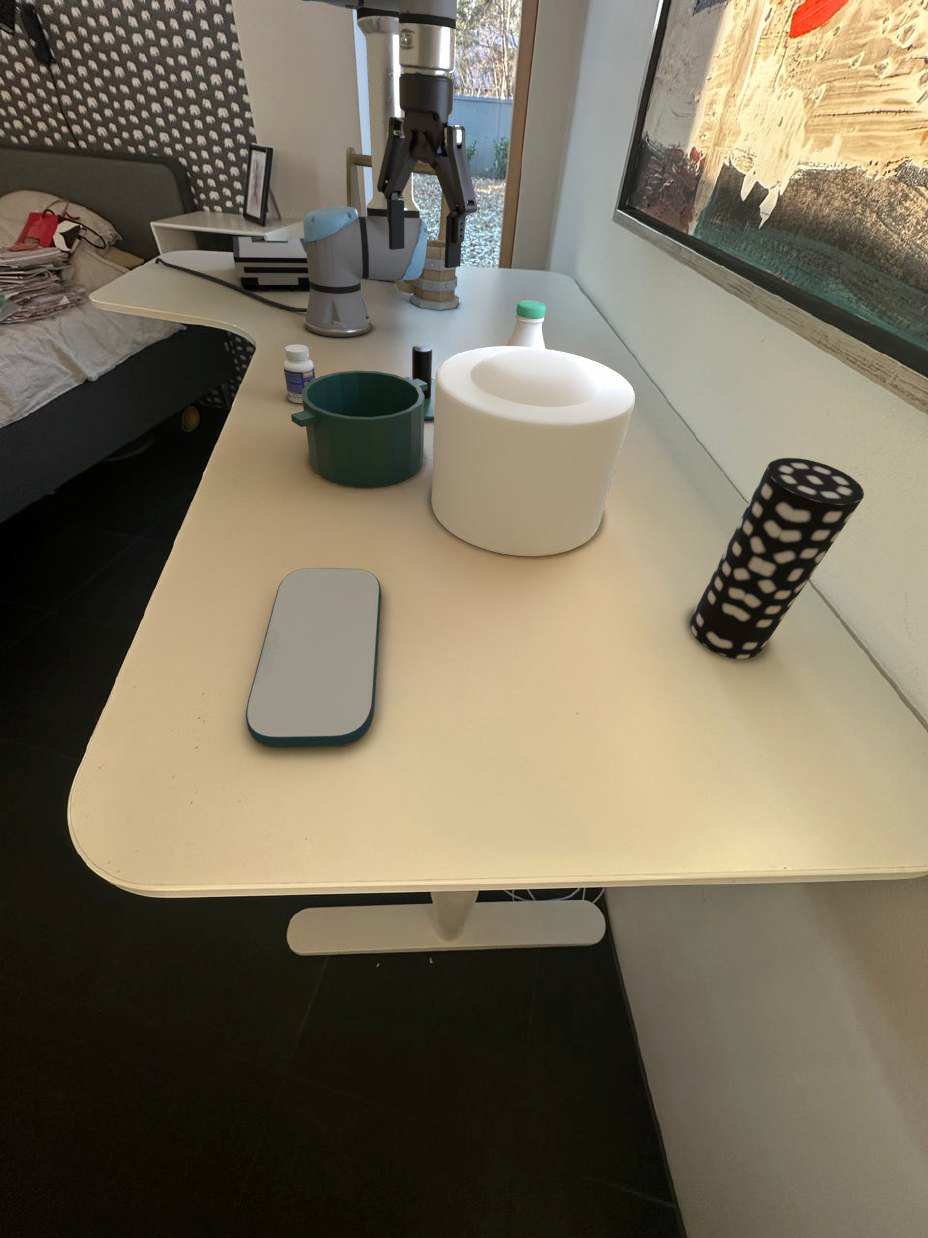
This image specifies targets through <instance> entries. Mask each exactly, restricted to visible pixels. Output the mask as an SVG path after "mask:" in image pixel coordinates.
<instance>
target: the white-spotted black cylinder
mask: <svg viewBox="0 0 928 1238" xmlns="http://www.w3.org/2000/svg"><path fill="white" fill-rule="evenodd" d="M864 496H865V491H864V489H863V487H862V486H861V484H860V483H859V482H858V481H857V480H856V479H855V478H853V477H852V476H850V475H848V474H847V473H845V472H843V471H842V470H840V469H838V468H835V467H833V466H830V465H828V464H825V463H822V462H819V461H815V460H811V459H805V458H798V457H781V458H777V459H774V460H772V461H770V462H769V463H768V465H767V466H766V468H765V470H764V472H763V475H762V476H761V478H760V480H759V482H758V484H757V486H756V488H755V490H754V492H753V494H752V496H751V498H750V499H749V502H748V504H747V505H746V508H745V509H744V512H743V515H742V516H741V518H740V520H739V522H738V524H737V526H736V528H735V530H734V532H733V534H732V536H731V537H730V540H729V541H728V544H727V545H726V548H725V549H724V552H723V554H722V556H721V557H720V560H719V562H718V563H717V566H716V568H715V569H714V571H713V574H712V576H711V577H710V579H709V582H708V583H707V586H706V587H705V589H704V592H703V593H702V595H701V598H700V600H699V601H698V603H697V605H696V608H695V610H694V611H693V613H692V616H691V617H690V621H689V626H690V630H691V632H692V634H693V635H694V637H695V638H696V639H697V640H698V641H699V642H700V643H701V644H702V645H703V646H704V647H705V648H707V649H709V650H711V651H712V652H714V653H716V654H718V655H720V656H724V657H726V658H732V659H738V660H740V659H741V660H743V659H750V658H754V657H756V656H758V655H760V653H761V652H762V651H763V649H764V648H765V646H766V645H767V643H768V642H769V640H770V639H771V637H772V635H774V632H775V631H776V630H777V628H778V626H779V625H780V623H781V622H782V620H783V619H784V618H785V616H786V615H787V613H788V611H789V610H790V609H791V607H792V605H794V603H795V601H796V600H797V598H798V596H799V595H800V593H801V592H802V591H803V589H804V588H805V586H806V585H807V583H808V582H809V580H810V578H812V576H813V574H814V572H815V571H816V569H817V568H818V566H819V565H820V564H821V562H822V560H823V559H824V557H825V556H826V555H827V553H828V552H829V550H830V548H831V547H832V546H833V544H834V543H835V541H836V540H837V538H838V537H839V535H840V534H841V532H842V530H843V529H844V527H846V524H847V523H848V521H849V520H850V519H851V517H852V516H853V515H854V513H855V511H856V509H857V508H858V507H859V505H860V503H861V502H862V500H863V499H864Z"/></svg>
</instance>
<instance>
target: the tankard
mask: <svg viewBox="0 0 928 1238" xmlns="http://www.w3.org/2000/svg"><path fill="white" fill-rule="evenodd" d="M444 266H445V241H439V240H438V239H434V240H433V239H427V249H426V257H425V262H424V267H423V270H422V273H421V275H420V276H419V277H418V278H417V279H414V280H413V285H411V284H405V283H404V281H403V280H402V281H399V280H395V282H394V283H395V285H396V287H397V289H398V291H399V292H401V293H404V294H411V296H410V303H411V304H413V305H415V306H416V307H418V308H421V309H424V310H425V309H426V310H427V309H428V310H435V311H445V310H446V311H447V310H453V309H454V310H455V309H456V307H457V306H458V305H459V303H460V297H459V296H458V295H455V294H456V293H455V291H456V288H457V287H458V276H456V273H457V272H456V270H457V267H453V268H445V267H444Z"/></svg>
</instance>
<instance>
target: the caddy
mask: <svg viewBox="0 0 928 1238" xmlns="http://www.w3.org/2000/svg"><path fill="white" fill-rule="evenodd" d="M345 161H346V163H345V164H346V165H345V168H346V170H345V171H346V175H345V177H346V178H345V180H346V181H345V182H346V183H345V184H346V207H353V208H355V209H356V210H357V213H358V216H359V217H363V216H362V205H361V195H360V185H359V183H360V182H359V174H358V167H364V168H371V169H372V160H371V154H361V153H356V149H355V148H354V147H351V146H350V147H347V148H346V152H345ZM413 174H422V175H429V176H430V175H431V176H436V173H435V171H434V169H433V168H431V166H430V164H427V163H423V162H422V161H419V162H418V163H417V164H416V165H415V168H414V170H413ZM449 213H450V210H449V207H448V205H447V202H446V199H445V197H444V194H443V191H442V190H441V199H440V213H439V226H438V239H437V240H439V241H446V216H448V214H449ZM376 280H377V281H378V280H379V281H386V282H391V283H395V280H385V279H376ZM403 281H404V283H405V284H407V285H413V280H403Z"/></svg>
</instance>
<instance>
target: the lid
mask: <svg viewBox="0 0 928 1238" xmlns="http://www.w3.org/2000/svg"><path fill="white" fill-rule="evenodd" d="M411 351H412V352H411V363H412V364H411V376H405V377H404V376H403V378H405V379H408V380H415V379H419V380H421V381H423V382H425V383H427V390H425V391H422V392H423V394H424V420H434V406H435V379H436V377H435V378H433V377H432V374H433V372H432V370H433V348H432V347H431V346H429V345H425V344H416V345H413V346H412V347H411Z"/></svg>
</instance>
